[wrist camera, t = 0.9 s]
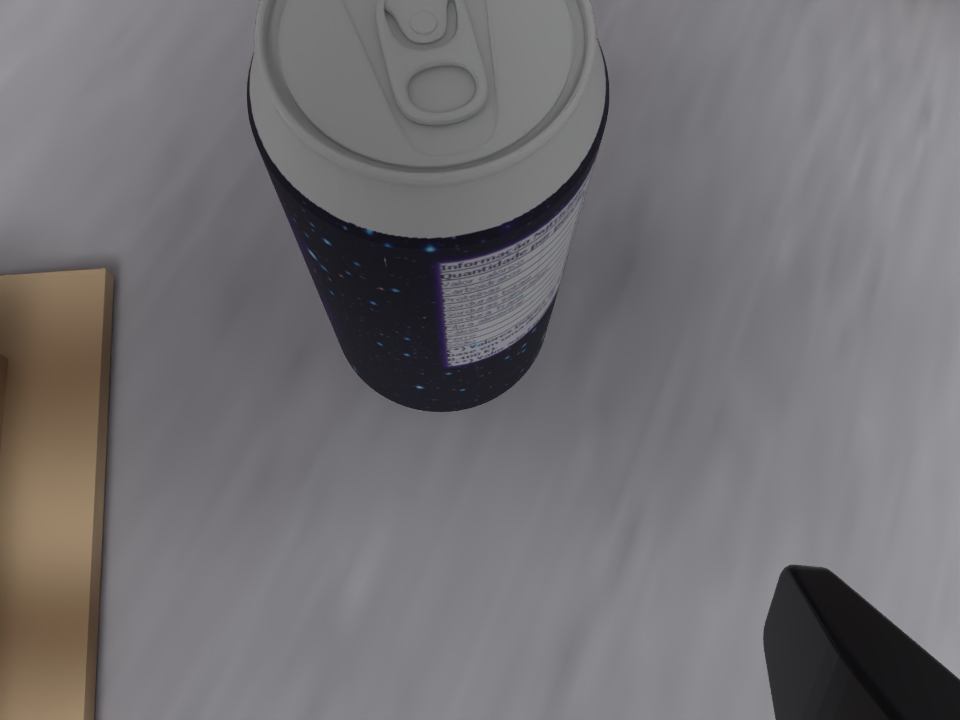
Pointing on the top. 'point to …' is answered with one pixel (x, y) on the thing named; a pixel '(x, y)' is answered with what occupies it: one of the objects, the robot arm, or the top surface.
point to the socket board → (52, 488)
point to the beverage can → (431, 175)
